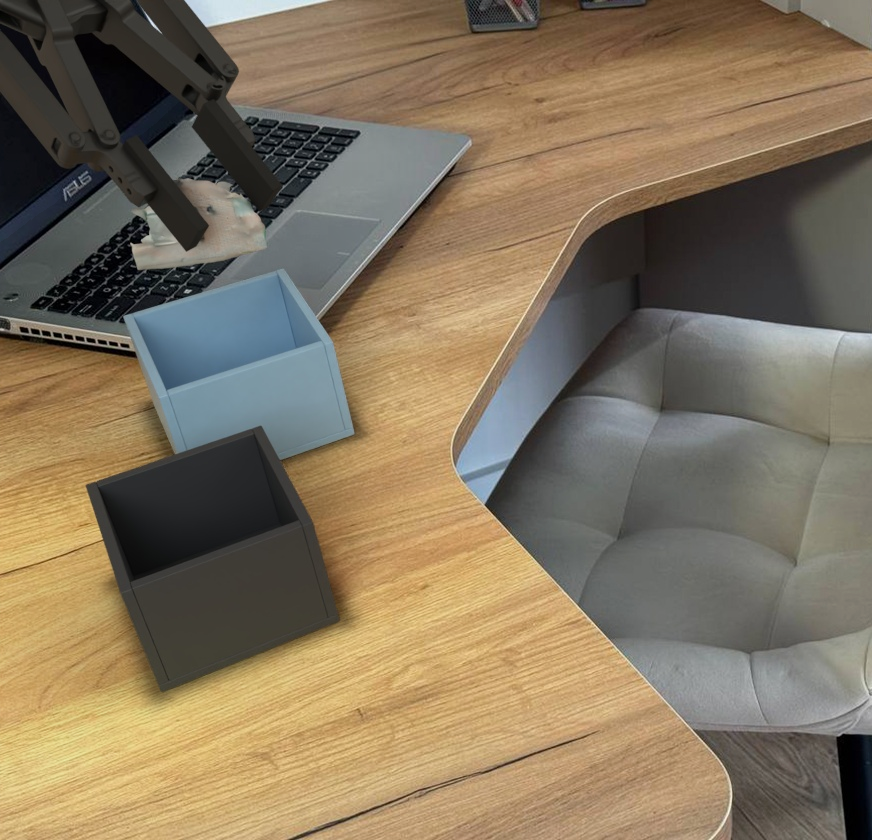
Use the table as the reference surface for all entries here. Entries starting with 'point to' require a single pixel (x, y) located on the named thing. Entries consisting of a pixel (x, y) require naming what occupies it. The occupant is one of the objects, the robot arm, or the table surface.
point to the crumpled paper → (224, 238)
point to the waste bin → (213, 556)
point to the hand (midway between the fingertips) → (234, 217)
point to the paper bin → (242, 367)
